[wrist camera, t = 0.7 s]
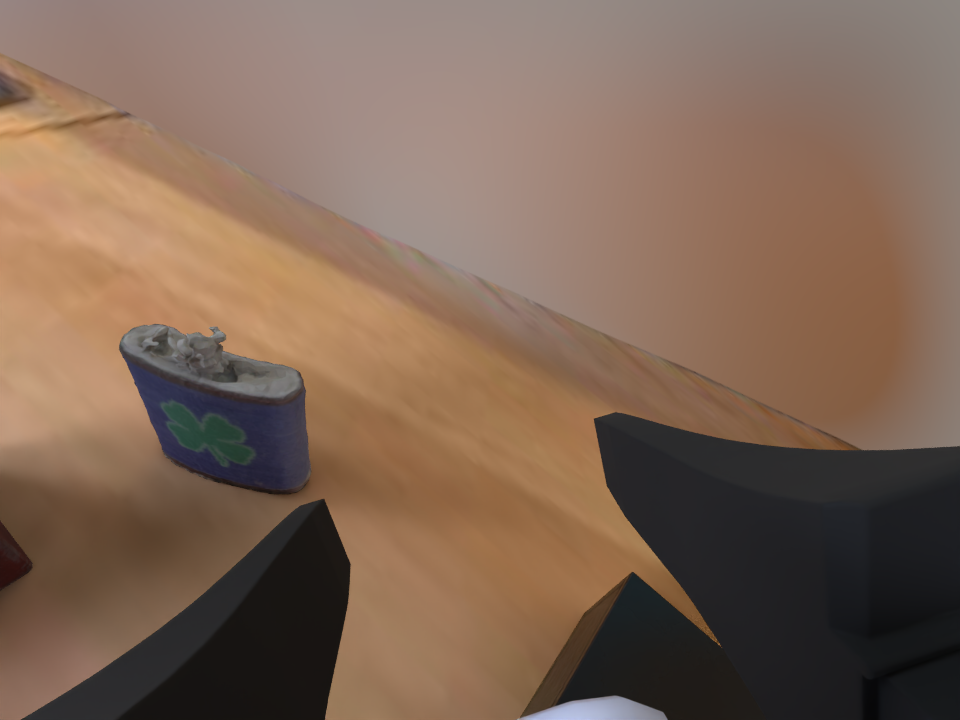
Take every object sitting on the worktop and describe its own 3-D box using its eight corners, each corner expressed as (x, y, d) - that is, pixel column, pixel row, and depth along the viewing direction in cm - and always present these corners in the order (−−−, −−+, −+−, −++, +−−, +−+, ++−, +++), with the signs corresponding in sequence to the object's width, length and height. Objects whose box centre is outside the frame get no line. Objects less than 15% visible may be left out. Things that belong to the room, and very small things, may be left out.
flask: (318, 467, 29) (310, 345, 21) (294, 508, 26) (276, 387, 19) (182, 423, 29) (127, 287, 21) (147, 460, 27) (73, 322, 19)
